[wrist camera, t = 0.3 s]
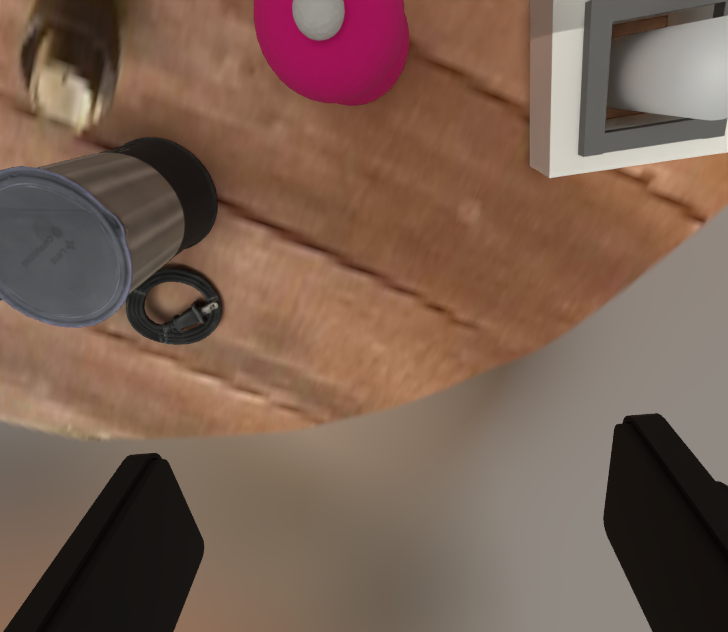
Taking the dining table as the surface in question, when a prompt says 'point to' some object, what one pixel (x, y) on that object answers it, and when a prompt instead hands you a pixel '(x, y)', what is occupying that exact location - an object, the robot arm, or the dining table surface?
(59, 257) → the milk frother
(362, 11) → the pepper mill
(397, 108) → the dining table surface
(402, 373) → the dining table surface
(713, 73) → the socket block
